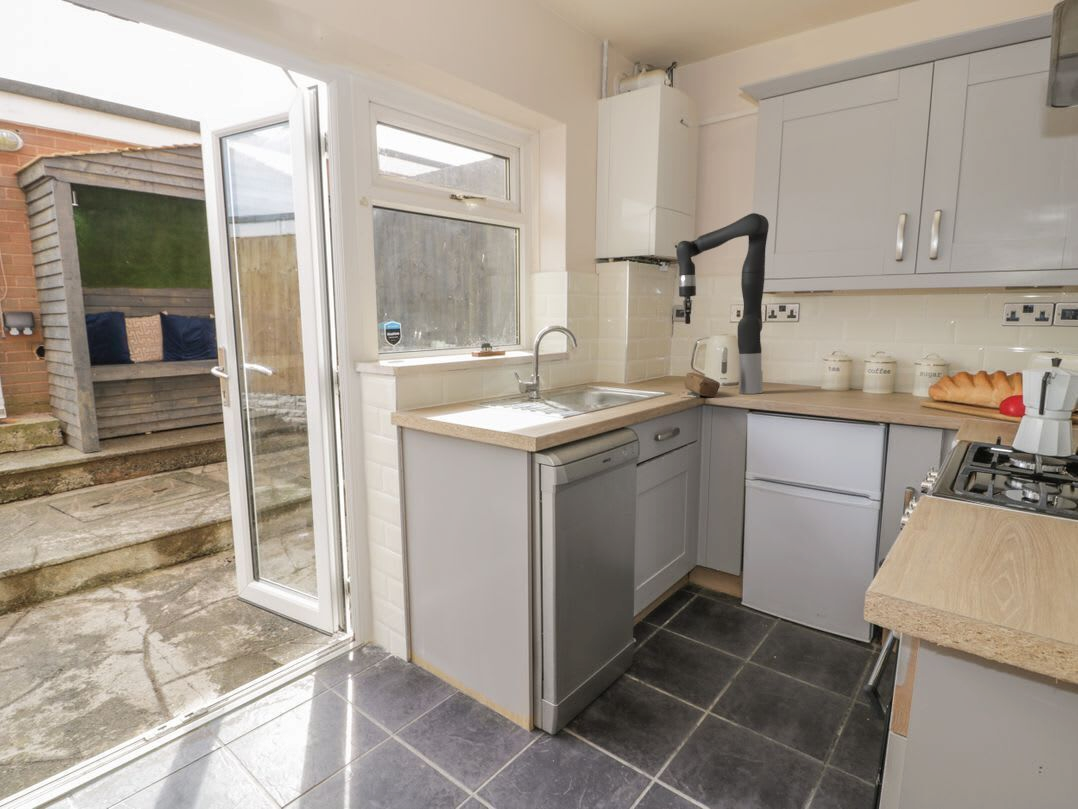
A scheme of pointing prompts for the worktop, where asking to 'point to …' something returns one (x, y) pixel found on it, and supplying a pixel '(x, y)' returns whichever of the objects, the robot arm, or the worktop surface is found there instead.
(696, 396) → the slate board
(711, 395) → the block
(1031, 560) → the worktop surface
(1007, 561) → the worktop surface
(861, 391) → the worktop surface
